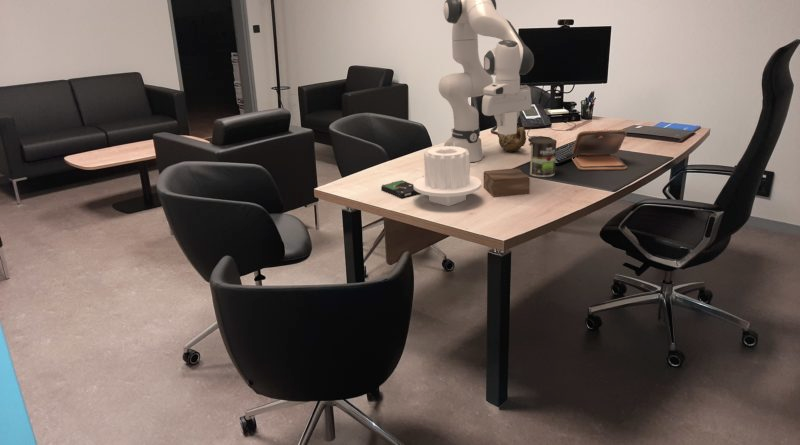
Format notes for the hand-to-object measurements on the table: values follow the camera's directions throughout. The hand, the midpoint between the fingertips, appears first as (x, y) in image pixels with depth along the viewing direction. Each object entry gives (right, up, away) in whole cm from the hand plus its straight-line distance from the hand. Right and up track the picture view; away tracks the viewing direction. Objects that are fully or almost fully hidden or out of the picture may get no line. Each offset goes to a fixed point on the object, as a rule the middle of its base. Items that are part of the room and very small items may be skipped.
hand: (506, 124), depth 233 cm
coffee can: (+19, -16, +28) cm, 38 cm away
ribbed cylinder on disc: (-22, -28, 0) cm, 36 cm away
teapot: (+13, -3, +65) cm, 67 cm away
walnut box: (+1, -24, +9) cm, 26 cm away
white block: (0, -3, +1) cm, 3 cm away
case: (+46, -11, +39) cm, 61 cm away
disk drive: (-39, -25, +13) cm, 48 cm away
